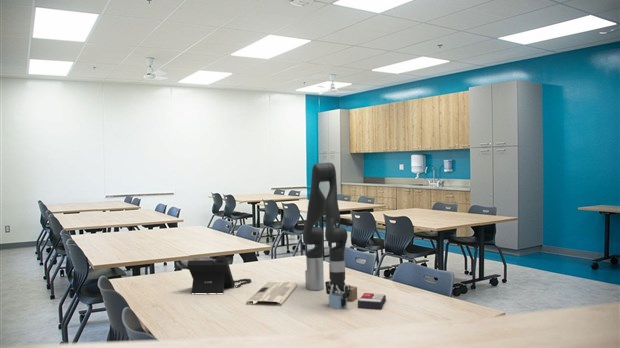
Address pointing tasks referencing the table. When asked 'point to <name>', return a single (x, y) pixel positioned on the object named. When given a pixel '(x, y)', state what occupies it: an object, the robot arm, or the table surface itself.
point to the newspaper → (274, 292)
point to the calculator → (372, 301)
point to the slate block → (335, 300)
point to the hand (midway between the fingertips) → (338, 305)
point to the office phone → (212, 275)
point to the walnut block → (352, 294)
